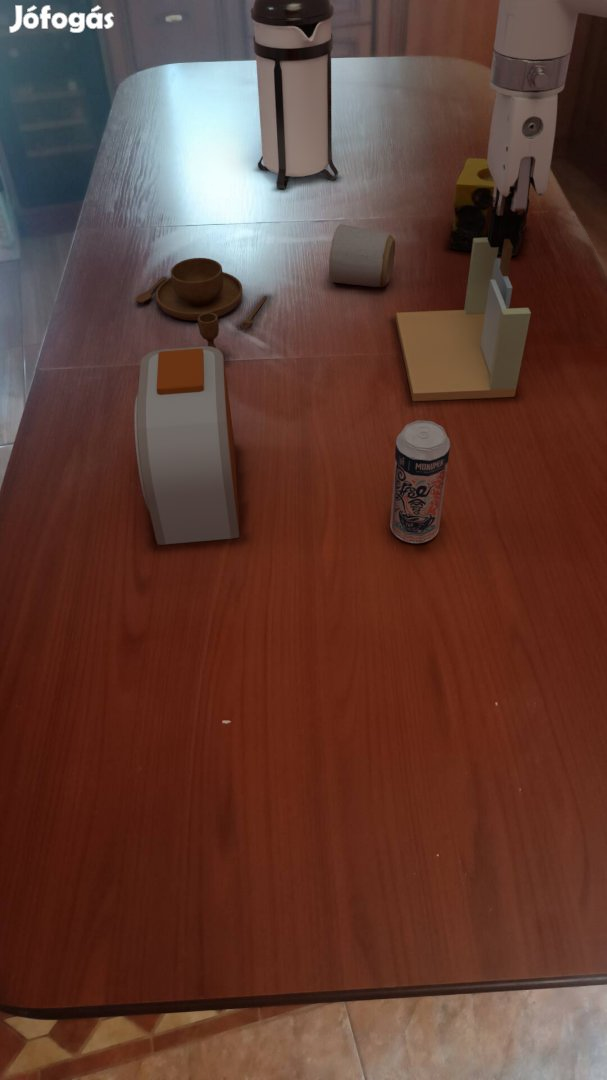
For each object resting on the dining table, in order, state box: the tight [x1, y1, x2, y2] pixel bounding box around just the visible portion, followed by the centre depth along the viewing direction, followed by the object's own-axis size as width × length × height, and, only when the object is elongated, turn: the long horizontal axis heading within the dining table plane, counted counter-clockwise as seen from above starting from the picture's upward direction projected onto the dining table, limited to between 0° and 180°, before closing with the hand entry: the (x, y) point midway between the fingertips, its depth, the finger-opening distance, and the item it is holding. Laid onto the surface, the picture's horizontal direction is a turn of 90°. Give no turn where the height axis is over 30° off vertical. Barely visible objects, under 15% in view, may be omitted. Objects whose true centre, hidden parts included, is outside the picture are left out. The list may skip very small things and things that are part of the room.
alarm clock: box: [133, 345, 241, 546], centre depth 79 cm, size 15×8×14 cm, turn 5°
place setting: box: [135, 257, 268, 348], centre depth 106 cm, size 18×20×6 cm
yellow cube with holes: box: [449, 157, 532, 257], centre depth 118 cm, size 10×10×10 cm
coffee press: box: [250, 0, 339, 190], centre depth 131 cm, size 17×16×30 cm
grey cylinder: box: [328, 224, 396, 288], centre depth 112 cm, size 11×8×8 cm
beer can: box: [389, 419, 451, 544], centre depth 75 cm, size 5×5×12 cm
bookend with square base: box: [395, 238, 532, 402], centre depth 96 cm, size 12×18×11 cm, turn 2°
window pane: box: [492, 239, 513, 309], centre depth 96 cm, size 1×7×12 cm, turn 1°
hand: (501, 243), depth 94 cm, fingers closed
